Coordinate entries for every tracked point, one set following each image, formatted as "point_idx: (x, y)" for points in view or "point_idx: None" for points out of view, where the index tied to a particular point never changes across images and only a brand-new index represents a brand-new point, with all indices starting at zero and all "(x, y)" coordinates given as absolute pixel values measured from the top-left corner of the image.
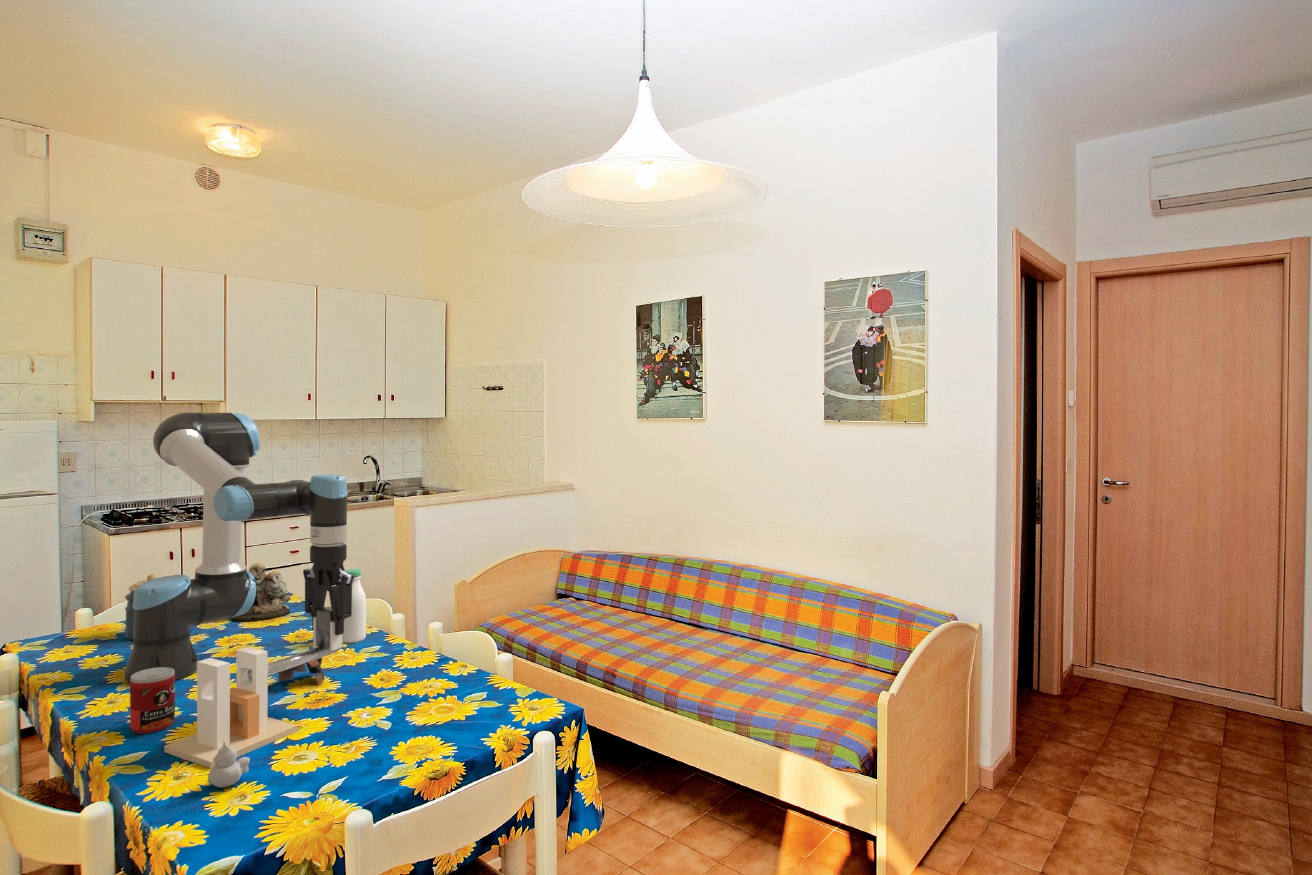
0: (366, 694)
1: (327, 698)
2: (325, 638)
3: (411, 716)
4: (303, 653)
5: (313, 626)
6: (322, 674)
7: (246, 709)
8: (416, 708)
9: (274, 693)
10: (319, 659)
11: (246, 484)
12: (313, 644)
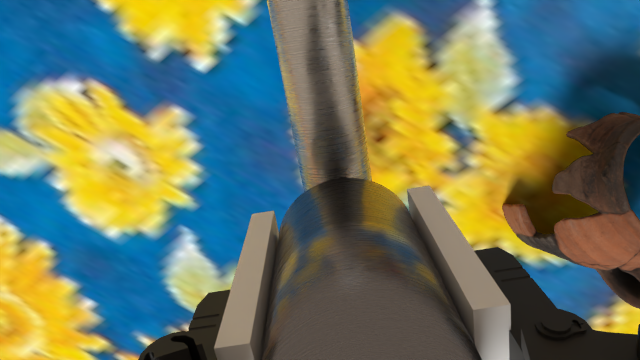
0: None
1: None
2: (293, 228)
3: (7, 238)
4: (298, 40)
5: (474, 254)
6: (529, 240)
7: None
8: (60, 281)
9: (576, 64)
10: (623, 289)
11: None
12: (430, 191)
